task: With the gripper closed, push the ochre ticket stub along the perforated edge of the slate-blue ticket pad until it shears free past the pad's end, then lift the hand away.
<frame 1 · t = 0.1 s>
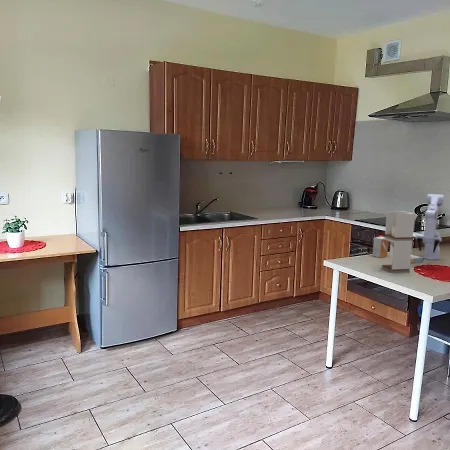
hand: (426, 251, 265), 10 cm above the table, tool pointing down, fingers open, 7 cm apart
ticket pad: (410, 260, 286), on the table
small box: (379, 256, 296), on the table
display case: (395, 270, 260), on the table
stub: (407, 259, 281), point 2 cm above the table, slide at 0.0 cm
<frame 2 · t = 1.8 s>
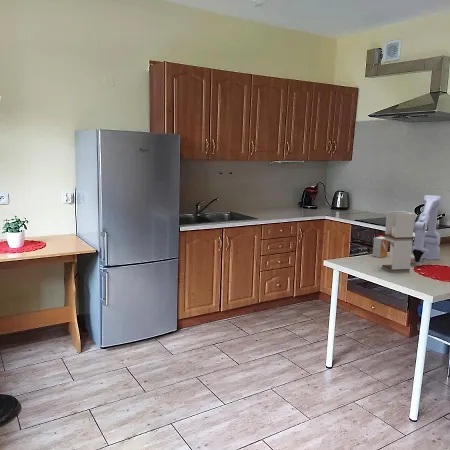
hand: (417, 261, 273), 2 cm above the table, tool pointing down, fingers closed
nothing on the table moved.
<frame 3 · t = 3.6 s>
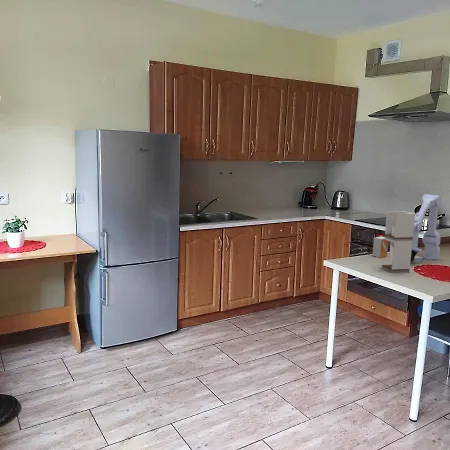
hand: (410, 261, 277), 1 cm above the table, tool pointing down, fingers closed
stub: (406, 259, 282), point 2 cm above the table, slide at 0.6 cm, touching gripper
everything else where it was.
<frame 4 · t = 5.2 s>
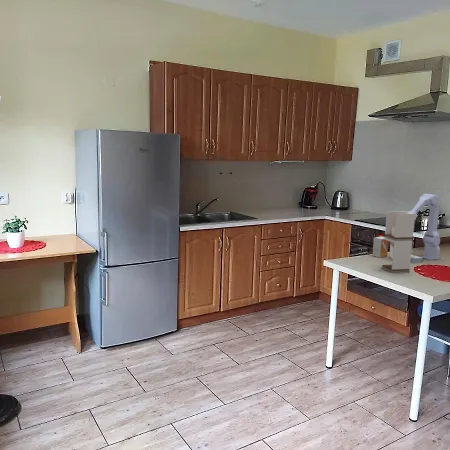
hand: (400, 258, 286), 1 cm above the table, tool pointing down, fingers closed
stub: (396, 256, 290), point 2 cm above the table, slide at 9.9 cm, touching gripper
everything else where it was.
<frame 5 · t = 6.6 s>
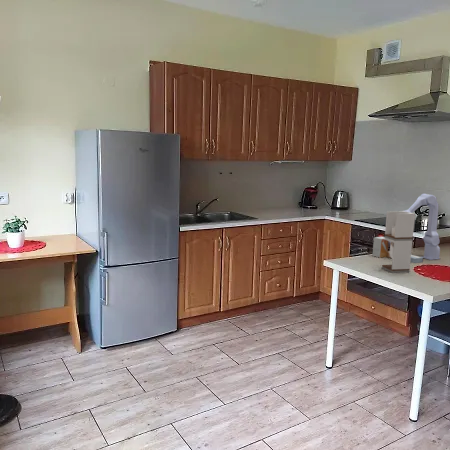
hand: (394, 256, 290), 1 cm above the table, tool pointing down, fingers closed
stub: (390, 254, 295), point 2 cm above the table, slide at 14.9 cm, touching gripper
everything else where it was.
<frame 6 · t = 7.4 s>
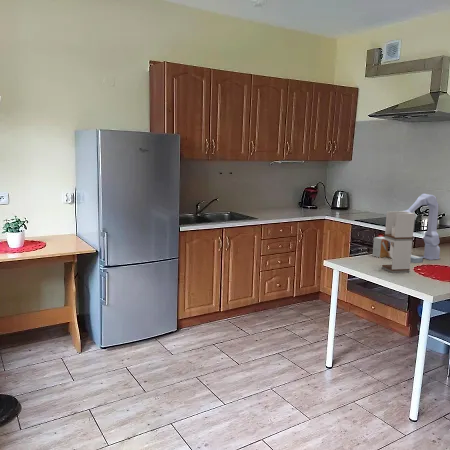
hand: (394, 256, 290), 1 cm above the table, tool pointing down, fingers closed
stub: (390, 254, 295), point 2 cm above the table, slide at 15.1 cm
everything else where it was.
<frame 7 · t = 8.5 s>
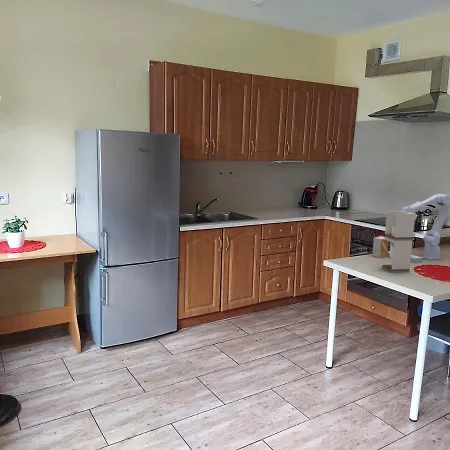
hand: (404, 244, 290), 9 cm above the table, tool pointing down, fingers closed
nothing on the table moved.
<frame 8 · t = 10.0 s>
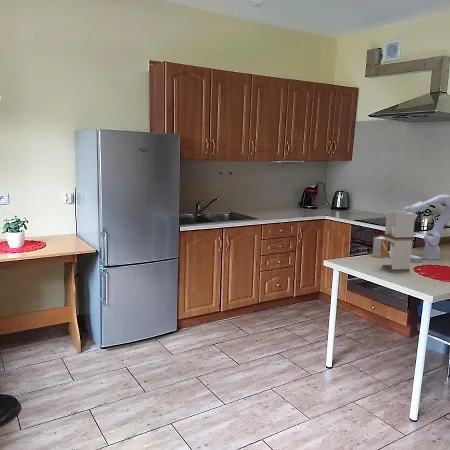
hand: (405, 244, 292), 9 cm above the table, tool pointing down, fingers closed
nothing on the table moved.
at the end: stub slide at 15.1 cm; the gripper is holding nothing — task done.
